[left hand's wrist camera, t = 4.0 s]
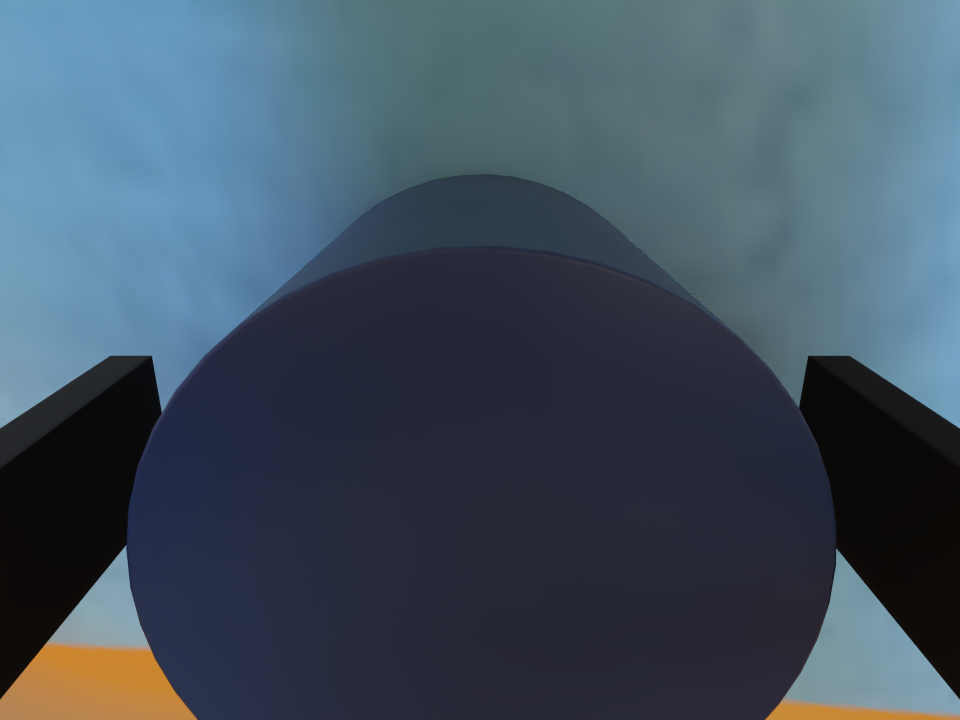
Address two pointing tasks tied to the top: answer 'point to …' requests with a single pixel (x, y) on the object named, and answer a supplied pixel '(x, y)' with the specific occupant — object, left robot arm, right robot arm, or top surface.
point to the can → (481, 486)
